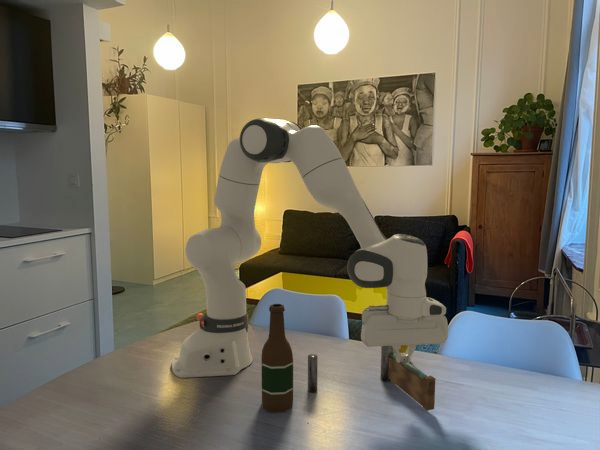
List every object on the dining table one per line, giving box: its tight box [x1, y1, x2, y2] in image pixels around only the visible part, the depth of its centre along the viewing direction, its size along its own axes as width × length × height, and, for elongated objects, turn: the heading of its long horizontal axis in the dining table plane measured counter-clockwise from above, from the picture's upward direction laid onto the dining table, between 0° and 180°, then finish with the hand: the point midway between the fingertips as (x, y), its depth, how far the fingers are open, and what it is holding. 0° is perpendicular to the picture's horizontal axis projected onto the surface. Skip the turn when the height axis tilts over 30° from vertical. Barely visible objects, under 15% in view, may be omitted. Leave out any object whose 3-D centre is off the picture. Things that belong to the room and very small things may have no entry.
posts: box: [307, 346, 394, 394], centre depth 117 cm, size 24×3×10 cm, turn 108°
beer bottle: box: [261, 303, 294, 414], centre depth 106 cm, size 8×8×24 cm
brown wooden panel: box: [388, 352, 436, 412], centre depth 110 cm, size 17×2×7 cm, turn 20°
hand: (402, 361), depth 108 cm, fingers closed
